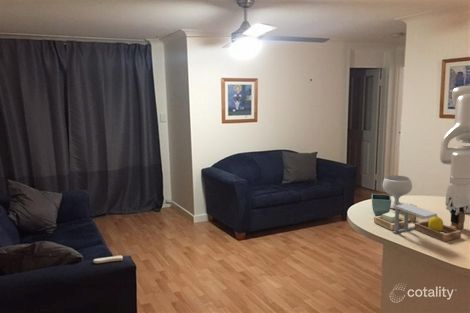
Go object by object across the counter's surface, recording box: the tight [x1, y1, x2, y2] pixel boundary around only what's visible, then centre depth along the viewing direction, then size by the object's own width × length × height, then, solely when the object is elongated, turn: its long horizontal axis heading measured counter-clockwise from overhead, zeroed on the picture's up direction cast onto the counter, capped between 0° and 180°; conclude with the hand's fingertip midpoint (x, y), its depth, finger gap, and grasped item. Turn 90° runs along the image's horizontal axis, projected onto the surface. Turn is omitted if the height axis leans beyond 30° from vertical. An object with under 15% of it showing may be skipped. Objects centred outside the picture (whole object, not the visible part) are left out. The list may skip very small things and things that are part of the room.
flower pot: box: [371, 193, 392, 217], centre depth 185 cm, size 9×9×9 cm
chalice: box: [382, 174, 413, 210], centre depth 195 cm, size 14×14×15 cm
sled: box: [373, 203, 418, 231], centre depth 173 cm, size 18×11×7 cm, turn 112°
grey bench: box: [392, 203, 438, 235], centre depth 159 cm, size 22×15×12 cm
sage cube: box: [382, 211, 395, 224], centre depth 172 cm, size 5×5×5 cm
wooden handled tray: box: [414, 211, 466, 242], centre depth 162 cm, size 18×15×7 cm
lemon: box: [428, 215, 444, 233], centre depth 159 cm, size 6×6×8 cm
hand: (457, 221), depth 164 cm, fingers closed on wooden handled tray, 3 cm apart
